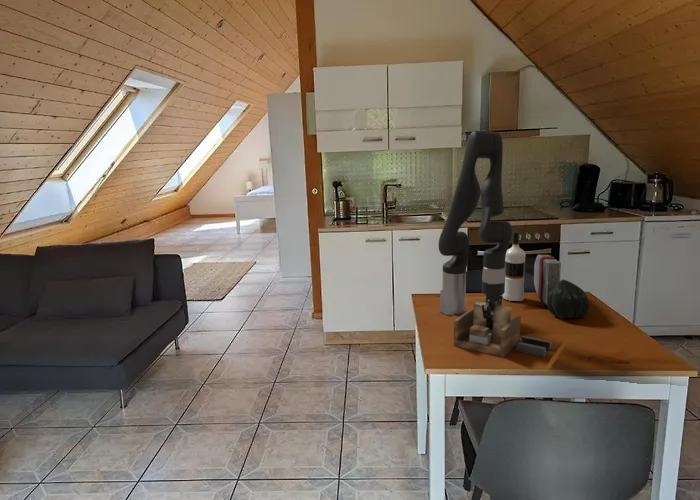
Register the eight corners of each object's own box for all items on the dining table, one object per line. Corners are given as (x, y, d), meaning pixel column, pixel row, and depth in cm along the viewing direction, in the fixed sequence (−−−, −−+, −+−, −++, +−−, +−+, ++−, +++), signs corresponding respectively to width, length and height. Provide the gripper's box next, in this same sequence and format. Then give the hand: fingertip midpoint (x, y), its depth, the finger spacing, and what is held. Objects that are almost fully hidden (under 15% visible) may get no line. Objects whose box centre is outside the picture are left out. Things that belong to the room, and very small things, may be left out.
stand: (515, 353, 158) (515, 343, 157) (522, 345, 164) (523, 335, 164) (543, 359, 153) (544, 349, 152) (550, 351, 159) (551, 341, 159)
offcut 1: (469, 334, 161) (469, 328, 161) (474, 330, 164) (474, 324, 163) (484, 337, 158) (484, 331, 157) (488, 334, 161) (489, 328, 160)
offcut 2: (469, 340, 161) (469, 334, 161) (473, 336, 165) (473, 330, 164) (487, 344, 158) (487, 338, 158) (490, 340, 161) (491, 333, 161)
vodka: (500, 301, 210) (503, 233, 204) (504, 294, 218) (506, 229, 212) (522, 303, 206) (526, 234, 200) (525, 297, 214) (529, 230, 208)
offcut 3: (468, 346, 162) (468, 340, 162) (473, 342, 165) (473, 336, 165) (485, 350, 158) (485, 344, 158) (490, 346, 162) (490, 340, 161)
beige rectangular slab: (472, 333, 171) (473, 303, 168) (476, 330, 173) (477, 301, 170) (506, 341, 164) (508, 310, 161) (509, 338, 166) (511, 307, 163)
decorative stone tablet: (563, 261, 194) (548, 251, 224) (545, 260, 196) (533, 251, 225) (560, 308, 197) (546, 292, 226) (543, 307, 198) (531, 291, 227)
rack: (453, 348, 163) (454, 320, 161) (472, 333, 176) (472, 306, 174) (503, 360, 154) (504, 330, 151) (519, 343, 166) (520, 315, 164)
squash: (594, 312, 178) (588, 275, 185) (550, 311, 182) (547, 275, 189) (586, 326, 190) (581, 291, 197) (545, 325, 194) (542, 291, 201)
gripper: (490, 273, 171) (488, 319, 175) (474, 283, 160) (473, 331, 164) (511, 276, 167) (509, 323, 171) (497, 286, 156) (494, 336, 160)
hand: (491, 327), depth 168 cm, fingers closed on beige rectangular slab, 3 cm apart
